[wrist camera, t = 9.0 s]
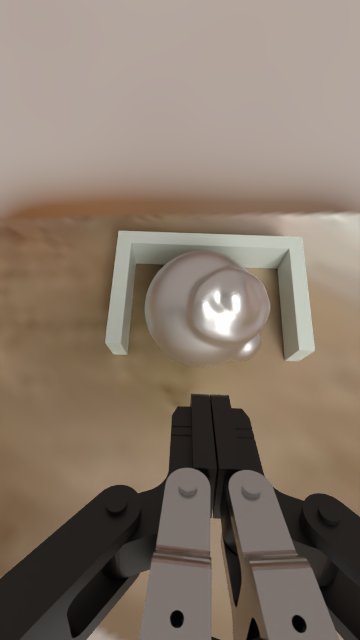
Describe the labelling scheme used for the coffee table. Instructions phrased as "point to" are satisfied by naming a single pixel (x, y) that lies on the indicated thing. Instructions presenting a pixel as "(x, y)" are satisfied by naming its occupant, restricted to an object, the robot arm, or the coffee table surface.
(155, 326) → the ghost figurine
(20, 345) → the coffee table surface
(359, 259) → the coffee table surface
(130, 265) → the grey u-shaped frame
